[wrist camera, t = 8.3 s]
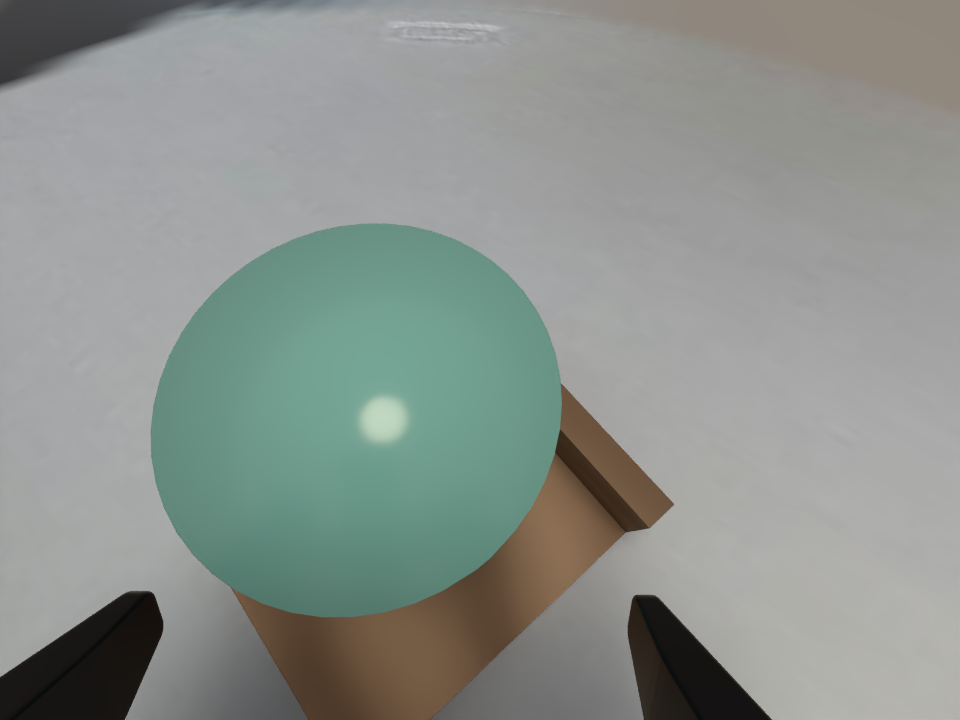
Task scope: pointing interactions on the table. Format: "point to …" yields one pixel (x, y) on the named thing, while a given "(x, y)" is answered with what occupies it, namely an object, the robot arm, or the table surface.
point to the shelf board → (467, 593)
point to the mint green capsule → (356, 420)
